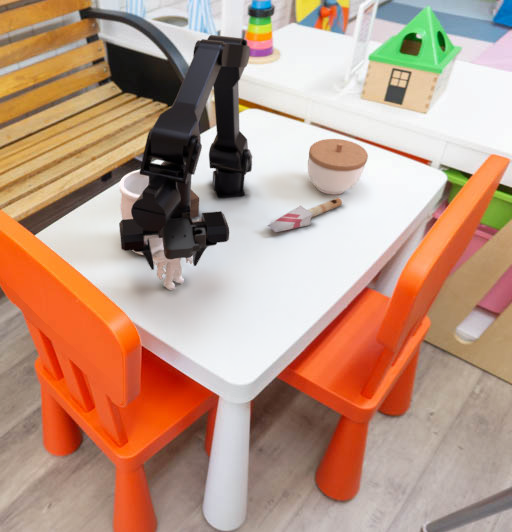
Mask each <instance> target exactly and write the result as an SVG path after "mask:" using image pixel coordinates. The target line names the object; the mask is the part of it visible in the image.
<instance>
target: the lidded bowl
mask: <svg viewBox="0 0 512 532" xmlns="http://www.w3.org/2000/svg"><path fill="white" fill-rule="evenodd" d="M368 154H369V153H368V152H367V150H366V149H365V148H364V146H363V147H362V146H361V145H360V144H358V143H356V142H353V141H351V140H347V139H341V138H325V139H321V140H318V141H315V142H314V143H312V144H311V145H310V147H309V151H308V159H307V174H308V177H309V180H310V182H311V183H312V184H313V185H314V187H315V189H317V191H319V192H321V193H322V194H326V195H332V196H333V195H335V196H336V195H340V194H343V193H344V192H346V191H347V190H350V189H352V187H354V186H355V185H356V184H357V182H358V181H359V180H360V178H361V176H362V174H363V172H364V169H365V167H366V164H367V161H368V159H369V158H368V157H369V155H368Z"/></svg>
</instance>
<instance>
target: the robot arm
mask: <svg viewBox="0 0 512 532" xmlns="http://www.w3.org/2000/svg"><path fill="white" fill-rule="evenodd" d="M194 44H195V45H194V47H193V55H192V56H193V57H192V59H191V62H190V64H189V66H188V69H187V72H186V74H185V76H184V78H183V81H182V83H181V85H180V88H179V90H178V92H177V95H176V97H175V99H174V101H173V103H172V106H171V107H169V108H168V109H166V110H165V111H163V112H161V113H160V114H159V115H158V117H157V119H156V120H155V123H154V124H153V126H152V128H150V129H149V131H148V134H147V137H146V141H145V146H144V150H143V154H142V160H141V164H140V169H139V170H140V175H145V176H149V184H148V186H147V187H146V188H145V189H144V191H143V192H142V194H141V195H140V196H139V198H138V199H137V200H136V202H135V203H134V204H133V206H132V209H131V214H132V217H133V219H125V220H122V219H121V220H120V222H119V225H118V226H119V236H120V245H121V247H120V248H121V250H122V251H125V252H128V251H132V250H134V251H135V252H142V253H143V255H142V256H144V257H145V259H146V261H147V263H148V266H149V267H150V270H151V271H152V270H153V271H154V270H155V264H154V262H155V261H154V262H153V260H154V259H153V258H152V252H151V247H150V242H149V239H150V238H162V240H163V247H164V255H165V257H166V258H167V259H175V258H181V259H184V258H185V259H186V258H190V257H192V265H193V267H196V266H197V265H198V264H199V261H200V259H201V258H202V256H203V254H204V252H205V251H206V250H207V248H208V247H212V246H216V245H217V244H218V243H219V244H220V243H226V242H228V241H229V240H230V227H229V223H228V220H227V218H226V215H225V213H223V212H222V211H221V210H220V211H208V212H202V213H201V214H200V218H198V220H193V218H191V214H190V205H191V190H192V175H193V176H195V174H196V170H197V167H198V163H199V160H200V156H201V153H202V148H203V145H202V143H201V142H202V141H201V139H202V138H201V137H202V136H201V133H200V126H199V123H200V120H201V118H202V115H203V112H204V110H205V109H206V105H207V103H208V100H209V97H210V96H211V93H212V91H213V99H214V113H215V126H216V128H215V129H216V135H215V137H214V139H213V142H212V143H211V145H210V146H209V147H210V148H209V152H208V163H209V168H210V169H215V170H213V171H212V184H211V185H212V189H213V191H214V192H215V194H216V197H217V198H219V199H223V198H233V197H244V196H245V195H246V191H245V189H244V187H245V186H244V185H245V177H246V175H247V173H251V172H252V168H253V155H252V152H251V150H250V149H249V146H248V145H249V143H248V139H247V138H246V136H245V135H244V134H243V133H242V132H241V131H240V100H239V99H240V98H239V97H240V96H239V91H240V90H239V82H240V80H241V77H242V75H243V73H244V71H245V68H246V67H247V66H248V63H249V60H250V54H251V47H250V46H249V45H248V40H247V39H244V38H242V37H235V36H225V35H215V34H210V35H209V36H208V38H207V39H204V38H201V40H196V42H195V43H194ZM153 159H154V160H158V161H163V162H161V163H160V164H159V163H154V162H152V160H153ZM135 252H134V253H135Z"/></svg>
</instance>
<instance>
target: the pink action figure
mask: <svg viewBox="0 0 512 532" xmlns="http://www.w3.org/2000/svg"><path fill="white" fill-rule="evenodd" d="M161 250H162V249H161ZM161 250H160V249H159V250H158V251H157V252H155V253H153V255H152V258H153V262H154V266H156V267H157V269H156V276H157V278H158V279H159V280H163V279H164V280H163V286H164V287H165V288H166V289H167V290H170V291H171V290H175V289H176V284H175V283H177V284H183V283H184V282H185V279H184V277H183V276H182V272H183V271H182V265H181V259H182V258H175V259H167V258H166V257H165V255H164V249H163V251H161ZM188 262H189V265H193V256H192V257H190V258H185V263H186V264H187V263H188ZM164 266H165V268H164V269H163V267H164ZM163 274H164V275H165V278H164V277H163Z"/></svg>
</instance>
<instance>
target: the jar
mask: <svg viewBox="0 0 512 532" xmlns="http://www.w3.org/2000/svg"><path fill="white" fill-rule="evenodd" d="M148 184H149V176H145V175H140V169H137V170H132V171H130V172H128V173H126V174H125V175H124V176H123V177H122V178H121V179H120V180H119V185H118V186H119V192H120V193H121V197H120V215H121V220H125V219H133V217H132V214H131V209H132V206H133V204H134V203H135V202H136V200H137V199H138V198H139V196H140V195H141V194H142V192H143V191H144V189H145V188H146V187H147V186H148ZM149 242H150V247H151V252H152V255H153V253H155V252H157V251H158V250H159V249H160V250H161V249H162V250H161V251H163V249H164V247H163V240H162V238H150V239H149ZM131 251H132V252H133V253H135V254H137V255H139V256H144V255H143V253H142V252H135V251H134V250H131Z"/></svg>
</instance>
